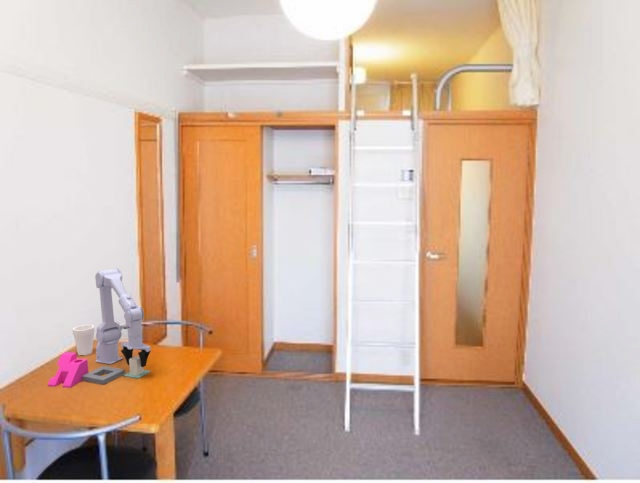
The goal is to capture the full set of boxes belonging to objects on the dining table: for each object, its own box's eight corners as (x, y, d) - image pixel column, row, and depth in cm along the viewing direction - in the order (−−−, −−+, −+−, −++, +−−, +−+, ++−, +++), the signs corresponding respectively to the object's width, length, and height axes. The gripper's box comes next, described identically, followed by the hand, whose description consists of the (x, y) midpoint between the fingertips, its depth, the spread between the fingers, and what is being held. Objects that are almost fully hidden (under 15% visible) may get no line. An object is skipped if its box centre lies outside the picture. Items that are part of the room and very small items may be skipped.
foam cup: (70, 354, 234) (68, 328, 232) (87, 348, 242) (86, 323, 240) (82, 358, 229) (80, 331, 228) (99, 352, 237) (98, 326, 235)
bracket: (67, 374, 210) (65, 352, 208) (88, 376, 208) (87, 353, 207) (47, 386, 198) (45, 362, 197) (70, 388, 196) (68, 364, 195)
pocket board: (81, 380, 203) (81, 376, 203) (103, 370, 215) (103, 365, 214) (103, 384, 199) (103, 380, 199) (124, 373, 210) (124, 369, 210)
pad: (123, 376, 208) (123, 375, 208) (136, 369, 215) (136, 368, 215) (137, 378, 205) (137, 377, 205) (150, 371, 213) (150, 370, 213)
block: (129, 374, 209) (129, 358, 208) (136, 370, 213) (135, 355, 212) (137, 375, 208) (136, 360, 207) (143, 372, 211) (142, 356, 210)
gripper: (115, 336, 207) (116, 366, 209) (141, 340, 202) (143, 370, 204) (127, 331, 213) (128, 360, 215) (153, 335, 208) (154, 364, 210)
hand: (136, 365), depth 210 cm, fingers open, 7 cm apart
